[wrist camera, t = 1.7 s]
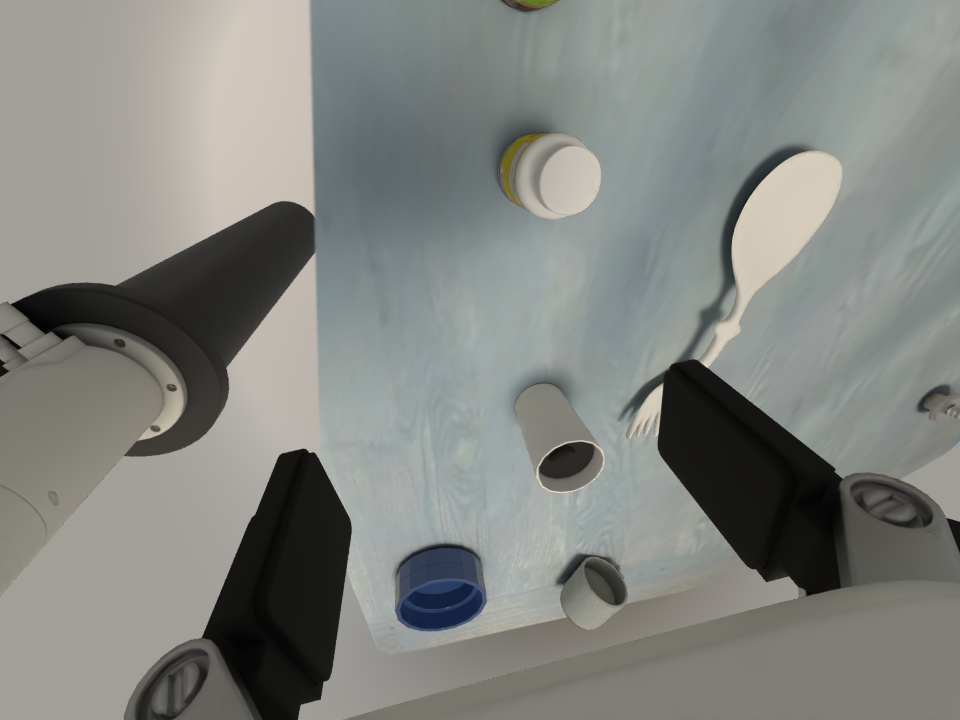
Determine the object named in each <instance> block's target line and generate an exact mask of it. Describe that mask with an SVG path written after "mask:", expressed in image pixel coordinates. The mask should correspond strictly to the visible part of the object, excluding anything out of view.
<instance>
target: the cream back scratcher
mask: <svg viewBox="0 0 960 720" xmlns="http://www.w3.org/2000/svg"><path fill="white" fill-rule="evenodd" d="M842 174H843V171H842V166H841V164H840V162H839V161H838V160H837V158H835V157H834V156H833V155H831V154H829V153H826V152H822V151H814V150H813V151H806V152H802V153H799V154H797V155H794V156H792V157H791V158H789V159H787V160H786V161H784V162H783V163H781V164H780V165H779V166H778V167H776V168H775V169H774V170H773V171H772V172H771V173H770V174H769V175H768V176H767V177H766V178H765V179H764V180H763V181H762V182H761V183H760V184H759V185H758V187H757V188H756V189H755V190H754V192H753V193H752V195H751V196H750V198H749V199H748V201H747V203H746V204H745V206H744V208H743V210H742V212H741V214H740V216H739V219H738V221H737V224H736V227H735V230H734V234H733V239H732V265H733V272H734V277H735V282H736V299H735V303H734V306H733V308H732V310H731V312H730V314H729V316H728V317H727V318H726V319H725V320H723V321H719V322H718V323H716V325H715V326H714V329H713V330H714V332H715V336H714V338H713V340H712V342H711V344H710V346H709V347H708V349H707V351H706V352H705V353H704V354H703V356H702V357H701V358H700V359H699V360H698V361H699V362H700V363H702V364H703V365H704V366H705V367H707V368H708V367H709V366H710V365H711V364H712V362H713V361H714V360H715V359H716V358H717V356H718V355H719V353H720V352H721V350H722V349H723V347H724V346H725V345H726V343H727V342H728V341H729V340H730V339H731V338H732V337H735V336H737V335H738V334H739V332H740V330H741V327H740V325H739V321H740V318H741V316H742V314H743V312H744V310H745V308H746V307H747V305H748V303H749V301H750V299H751V298H752V296H753V295H754V294H755V293H756V292H757V290H758V289H760V288H761V287H762V286H763V285H764V284H765V283H766V282H767V281H768V280H769V279H771V278H772V277H773V276H774V275H775V274H776V273H777V272H779V271H780V270H781V269H782V268H783V267H785V266H786V265H787V264H788V263H789V262H790V261H791V260H792V259H793V258H794V257H795V256H796V255H797V254H798V253H799V252H800V250H801V249H802V248H803V247H804V246H805V244H806V243H807V242H808V240H809V239H810V238H811V237H812V235H813V234H814V233H815V231H816V230H817V229H818V228H819V226H820V225H821V223H822V222H823V221H824V219H825V218H826V216H827V215H828V213H829V211H830V209H831V208H832V206H833V204H834V202H835V199H836V197H837V195H838V192H839V189H840V186H841V182H842ZM663 383H664V382H663ZM663 383H662V384H660V385H659V386H658V387H656V388H655V389H654V390H653V391H652V392H651V393H650V394H649V395H648V397H647V398H646V400H645V401H644V403H643V404H642V406H641V408H640V409H639V411H638V412H637V414H636V415H635V417H634V418H633V420H632V422H631V423H630V425H629V427H628V429H627V432H626V438H627V439H628V440H629V439H630V438H631V437H632V435H633V433H634V431H635V430H636V428H637V430H636V437H638V436H639V435H640V433H641V431H642V429H643V427H644V425H645V428H644V437H646V435H647V434H648V432H649V430H650V428H651V425H652V423H653V421H654V419H655V417H656V419H655V426H654V435H655V437H656V436H658V434H659V424H660V413H661V403H662V393H663Z"/></svg>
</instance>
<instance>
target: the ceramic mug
mask: <svg viewBox="0 0 960 720" xmlns="http://www.w3.org/2000/svg"><path fill="white" fill-rule="evenodd" d="M623 579H624V577H623V575H622V574H621V572H620V571H619V570H618V569H615V568H614V567H613V566H612V565H611V564H610V563H608V562H607V561H605V560H604V559H601V558H599V557H593V556H591V557H588V558H586V559H585V560H584V561H583V562H582V563H581V565H580V566H579V567H578V568H577V570H576V571H575V572H574V573H573V575H572V576H571V577H570V578H569V579H568V581H567V582H566V583H565V585H564V587H563V589H562V591H561V597H560V599H561V605H562V608H563V610H564V612H565V614H566V616H567V617H568V618H569V620H570V621H571V622H572V623H573V624H575V625H576V626H578V627H579V628H581V629H585V630H592V629H595V628H597V627H599V626H600V625H602V624H603V623H604V622H605V621H606V620H607V619H609V618H610V617H611V616H612V615H613V614H615V613H616V612H617V611H618V610H620V609H621V608H622V607H623V606H624V605H625V604H626V601H627V597H628V594H627V587H626V585H625V582H624V580H623Z"/></svg>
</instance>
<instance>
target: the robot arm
mask: <svg viewBox="0 0 960 720" xmlns="http://www.w3.org/2000/svg"><path fill="white" fill-rule="evenodd" d="M28 320H30V319H28V318H27V317H26V316H25V315H23V314H22V313H21V312H19V311H18V310H17V309H16V308H14V307H13V306H12V305H11V304H9V303H8V302H5V303H2V304H0V334H4V335H6V336H7V337H8V338H10V339H11V340H12V341H14V342H15V343H16V344H18V345H19V346H20V347H22V348H21V349H19V350H18V349H16V348H15V347H14V346H12V345H11V344H10V342H9V341H7V340H6V339H5V338H3V337H2V336H0V359H1V360H2V361H3V362H5V363H6V364H4V365H3V367H4V368H6V369H7V370H9V371H10V372H8V373H6V374H5V375H3V376H1V377H0V597H1V595H2V594H3V593H4V592H5V591H6V589H7V588H8V587H9V586H10V585H11V584H12V582H13V581H14V580H15V579H16V578H17V576H18V575H19V574H20V573H21V572H22V571H23V569H24V568H25V567H26V566H27V565H28V564H29V563H30V562H31V560H32V559H33V558H34V557H35V556H36V555H37V553H38V552H39V551H40V550H41V549H42V548H43V547H44V546H45V544H46V543H47V542H48V541H49V540H50V539H51V538H52V537H53V535H54V534H55V533H56V532H57V531H58V530H59V529H60V527H61V526H62V525H63V524H64V523H65V522H66V521H67V519H68V518H69V517H70V516H71V515H72V514H73V513H74V512H75V510H76V509H77V508H78V507H79V506H80V504H82V502H83V501H84V500H85V499H86V498H87V497H88V496H89V494H90V493H91V492H92V491H93V490H94V489H95V487H96V486H97V485H98V484H99V483H100V482H101V481H102V479H103V478H104V477H105V476H106V475H107V474H108V473H109V472H110V471H111V469H112V468H113V467H114V466H115V465H116V464H117V462H118V461H119V460H120V459H121V458H122V457H123V456H124V455H125V453H126V452H127V451H128V450H129V449H130V448H131V447H132V445H133V444H134V443H135V442H136V441H138V440H144V439H149V438H152V437H154V436H157V435H160V434H162V433H163V432H165V431H167V430H168V429H170V428H171V427H172V426H173V425H174V424H175V423H176V422H177V421H178V419H179V418H180V417H181V415H182V414H183V412H184V410H185V407H186V405H187V398H188V393H187V387H186V383H185V381H184V378H183V376H182V374H181V372H180V371H179V369H178V368H177V366H176V365H175V364H174V363H173V362H172V360H171V359H170V358H169V357H168V356H167V355H166V354H165V353H163V352H162V351H161V350H160V349H158V348H157V347H156V346H154V345H153V344H151V343H150V342H148V341H146V340H144V339H143V338H141V337H139V336H137V335H134V334H132V333H130V332H127V331H125V330H122V329H118V328H114V327H111V326H107V325H100V324H93V323H74V324H68V325H61V326H58V327H55V328H53V329H50V330H47V331H46V332H44V333H43V332H42V331H41V330H40V329H38V328H37V327H36V326H34V325H33V324H32V323H31V322H29V321H28ZM658 450H659V453H660V455H661V457H662V458H663V460H664V461H665V462H666V463H667V465H668V466H669V467H670V469H671V470H672V471H673V472H674V474H675V475H676V476H677V478H678V479H679V480H680V481H681V483H682V484H683V485H684V487H685V488H686V489H687V490H688V492H689V493H690V494H691V495H692V497H693V498H694V499H695V501H696V502H697V503H698V504H699V506H700V507H701V508H702V510H703V511H704V512H705V513H706V515H707V516H708V517H709V519H710V520H711V521H712V522H713V524H714V525H715V526H716V528H717V529H718V530H719V531H720V533H721V534H722V535H723V536H724V538H725V539H726V540H727V542H728V543H729V544H730V545H731V547H732V548H733V549H734V551H735V552H736V553H737V554H738V556H739V557H740V558H741V560H742V561H743V562H744V563H745V564H746V565H747V566H748V567H749V568H751V569H756V570H757V571H758V572H759V574H760V575H761V576H762V577H763V579H764V580H765V581H766V582H769V581H773V580H776V579H780V578H784V577H788V576H789V577H790V578H791V579H792V580H793V581H794V583H795V584H796V585H797V586H798V592H799V598H798V599H794V600H790V601H785V602H781V603H777V604H773V605H769V606H764V607H761V608H757V609H753V610H749V611H745V612H741V613H738V614H734V615H730V616H726V617H722V618H718V619H714V620H711V621H707V622H703V623H699V624H696V625H691V626H688V627H684V628H680V629H676V630H672V631H668V632H665V633H661V634H657V635H653V636H650V637H645V638H642V639H638V640H634V641H630V642H627V643H623V644H619V645H615V646H612V647H608V648H604V649H600V650H597V651H593V652H589V653H585V654H581V655H578V656H574V657H570V658H566V659H563V660H559V661H556V662H551V663H548V664H544V665H540V666H536V667H533V668H529V669H525V670H522V671H518V672H514V673H510V674H507V675H503V676H499V677H496V678H492V679H488V680H485V681H481V682H477V683H473V684H470V685H466V686H462V687H459V688H455V689H451V690H448V691H444V692H441V693H437V694H433V695H430V696H426V697H422V698H419V699H415V700H412V701H408V702H404V703H400V704H397V705H393V706H389V707H385V708H382V709H378V710H375V711H372V712H368V713H365V714H361V715H358V716H355V717H351V718H348V719H344V720H960V522H958V521H955V520H952V519H948V518H946V516H945V515H944V513H943V511H942V510H941V508H940V507H939V505H938V504H937V503H936V502H935V501H934V500H932V499H931V498H930V497H929V496H928V495H927V494H925V493H924V492H922V491H920V490H919V489H917V488H916V487H914V486H912V485H910V484H908V483H905V482H903V481H901V480H899V479H896V478H892V477H889V476H886V475H882V474H875V473H854V474H851V475H849V476H846V477H845V478H844V479H842V478H841V477H840V476H839V475H837V474H836V473H835V472H834V471H835V468H834V467H833V466H831V465H830V464H829V463H828V462H826V461H825V460H824V459H822V458H821V457H820V456H819V455H817V454H816V453H815V452H814V451H812V450H811V449H810V448H808V447H807V446H806V445H805V444H803V443H802V442H801V441H800V440H798V439H797V438H796V437H794V436H793V435H792V434H791V433H789V432H788V431H787V430H786V429H784V428H783V427H782V426H780V425H779V424H778V423H777V422H775V421H774V420H773V419H772V418H770V417H769V416H768V415H766V414H765V413H764V412H763V411H761V410H760V409H759V408H758V407H756V406H755V405H754V404H753V403H751V402H750V401H749V400H747V399H746V398H745V397H744V396H742V395H741V394H740V393H739V392H737V391H736V390H735V389H733V388H732V387H731V386H730V385H728V384H727V383H726V382H725V381H723V380H722V379H721V378H719V377H718V376H717V375H716V374H714V373H713V372H712V371H711V370H709V369H708V368H707V367H705V366H704V365H703V364H702V363H700V362H699V361H697V360H695V359H692V360H688V361H683V362H679V363H674V364H672V365H671V366H670V369H669V370H668V371H666V372H665V375H664V383H663V393H662V403H661V413H660V424H659V434H658ZM351 533H352V526H351V521H350V518H349V516H348V514H347V512H346V510H345V508H344V506H343V505H342V503H341V501H340V499H339V497H338V495H337V493H336V491H335V489H334V487H333V485H332V483H331V482H330V480H329V478H328V476H327V474H326V472H325V470H324V468H323V466H322V464H321V462H320V460H319V458H318V457H317V455H316V454H315V453H314V452H312V453H309V452H308V451H307V450H306V449H300V450H295V451H291V452H287V453H282V454H281V455H280V456H279V457H278V459H277V462H276V464H275V467H274V469H273V472H272V474H271V477H270V479H269V482H268V484H267V487H266V489H265V492H264V494H263V497H262V499H261V502H260V504H259V507H258V509H257V512H256V514H255V515H254V516H253V517H252V518H251V520H250V522H249V524H248V526H247V529H246V531H245V534H244V536H243V538H242V541H241V543H240V546H239V548H238V551H237V553H236V556H235V558H234V560H233V563H232V565H231V568H230V570H229V573H228V575H227V578H226V580H225V583H224V585H223V587H222V590H221V592H220V595H219V597H218V600H217V602H216V604H215V607H214V610H213V612H212V614H211V617H210V619H209V622H208V624H207V626H206V629H205V631H204V634H203V636H202V638H199V639H193V640H190V641H187V642H185V643H183V644H181V645H179V646H176V647H175V648H174V649H172V650H171V651H170V652H168V653H167V654H165V655H164V656H163V657H162V658H160V660H159V661H157V663H155V665H153V666H152V667H151V668H150V669H149V671H148V672H147V673H146V674H145V676H144V677H143V678H142V680H141V681H140V682H139V683H138V685H137V687H136V688H135V690H134V692H133V694H132V696H131V698H130V699H129V702H128V705H127V708H126V711H125V714H124V720H298V715H299V710H300V705H301V704H305V703H309V702H313V701H317V700H320V699H321V695H322V688H323V682H324V681H327V680H329V678H330V676H331V672H332V667H333V660H334V653H335V646H336V639H337V632H338V625H339V618H340V611H341V604H342V596H343V590H344V582H345V576H346V569H347V562H348V555H349V547H350V540H351Z"/></svg>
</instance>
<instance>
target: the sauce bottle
mask: <svg viewBox="0 0 960 720" xmlns="http://www.w3.org/2000/svg"><path fill="white" fill-rule="evenodd" d="M504 1H505V2H506V3H507V4H509V5H510V6H511V7H516V8H518V9H520V10H522V11H534V10H538V9H541V8H544V7H547V6H550V5H552V4H554V3H556V2H557V1H559V0H504Z"/></svg>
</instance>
